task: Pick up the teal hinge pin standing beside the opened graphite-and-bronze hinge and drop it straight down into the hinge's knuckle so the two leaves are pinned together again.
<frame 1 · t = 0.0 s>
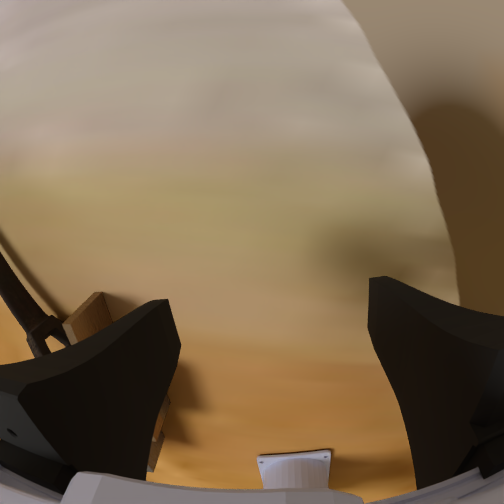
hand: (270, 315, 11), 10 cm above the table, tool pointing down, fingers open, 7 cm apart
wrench: (9, 233, 22), on the table, touching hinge
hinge: (131, 378, 25), on the table
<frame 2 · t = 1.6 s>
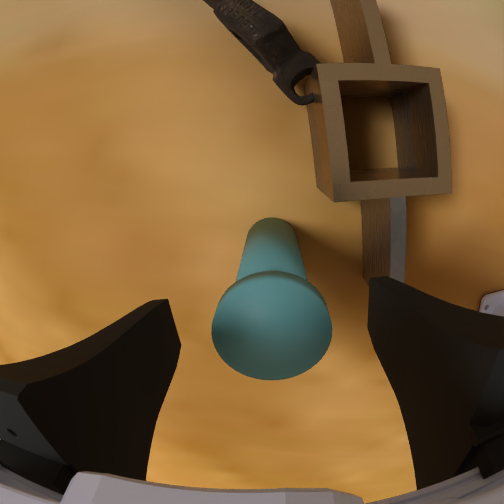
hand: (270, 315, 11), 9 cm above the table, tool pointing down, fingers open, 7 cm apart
pin: (271, 241, 19), on the table
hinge: (361, 132, 16), on the table
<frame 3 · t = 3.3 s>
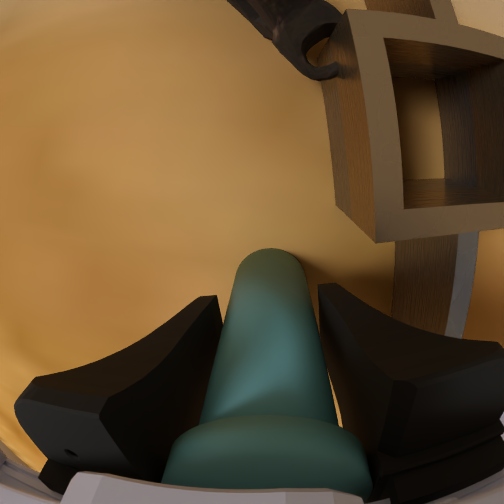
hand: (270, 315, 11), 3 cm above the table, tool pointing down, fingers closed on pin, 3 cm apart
pin: (270, 281, 13), on the table, touching gripper
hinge: (398, 127, 11), on the table
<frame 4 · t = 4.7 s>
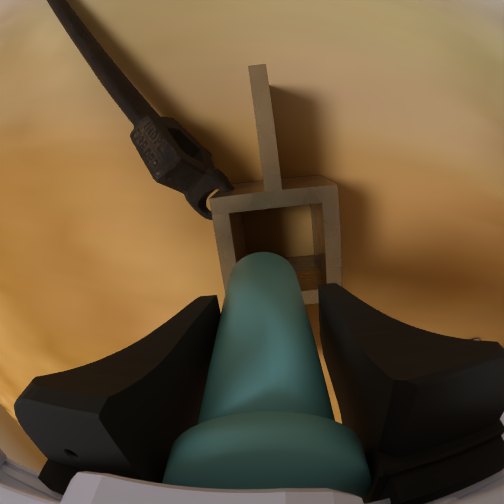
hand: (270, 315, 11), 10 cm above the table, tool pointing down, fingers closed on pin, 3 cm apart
pin: (263, 284, 13), point 7 cm above the table, touching gripper
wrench: (120, 31, 16), on the table, touching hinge
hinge: (277, 226, 20), on the table
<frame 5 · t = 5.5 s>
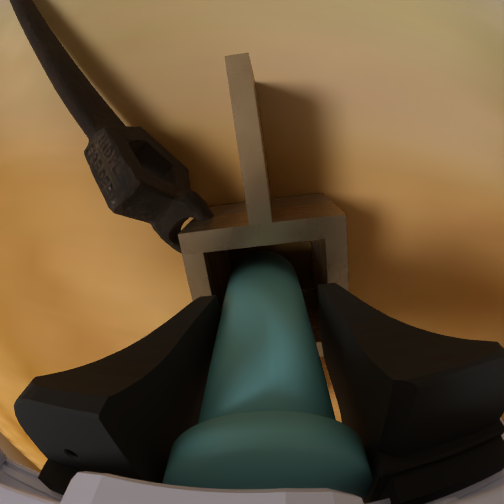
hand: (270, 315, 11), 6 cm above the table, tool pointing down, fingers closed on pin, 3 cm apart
pin: (263, 284, 13), point 3 cm above the table, touching gripper
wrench: (85, 26, 13), on the table, touching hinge
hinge: (270, 255, 16), on the table
when the fingers open (6 cm above the table, at t = 6.3 s): pin drops 3 cm, resting in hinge.
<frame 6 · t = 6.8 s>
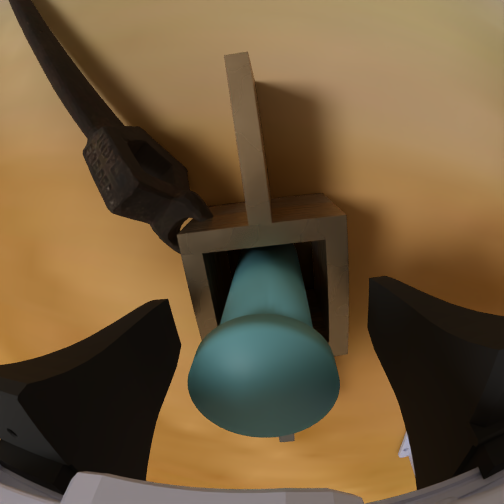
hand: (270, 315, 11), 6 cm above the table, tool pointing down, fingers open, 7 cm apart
pin: (268, 258, 16), resting in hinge
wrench: (84, 26, 12), on the table, touching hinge
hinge: (270, 256, 16), on the table
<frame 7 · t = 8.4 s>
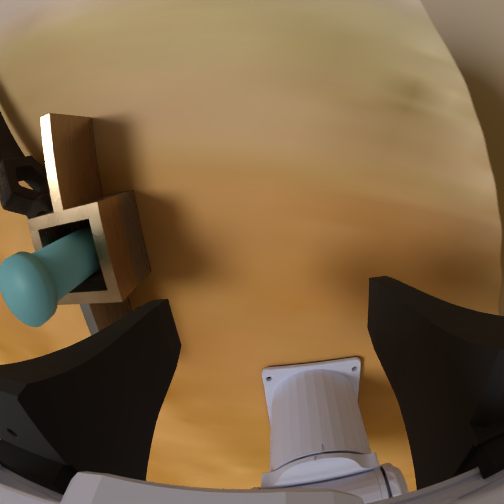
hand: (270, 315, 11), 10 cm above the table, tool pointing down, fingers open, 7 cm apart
pin: (106, 238, 21), resting in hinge
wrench: (10, 85, 18), on the table, touching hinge
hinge: (107, 237, 21), on the table
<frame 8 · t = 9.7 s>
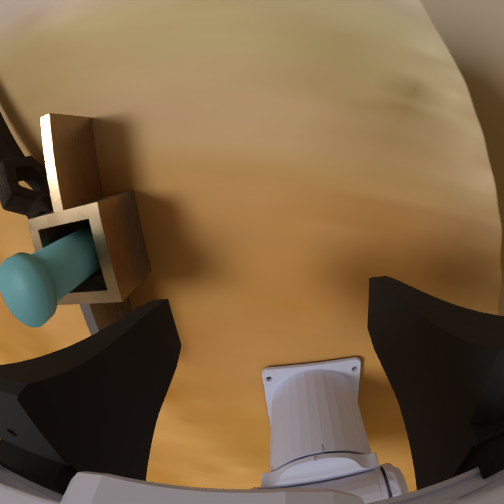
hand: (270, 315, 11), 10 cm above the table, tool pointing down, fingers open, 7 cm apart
pin: (106, 238, 21), resting in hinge
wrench: (9, 85, 18), on the table, touching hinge
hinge: (107, 237, 21), on the table
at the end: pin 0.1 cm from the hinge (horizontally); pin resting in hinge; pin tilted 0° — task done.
